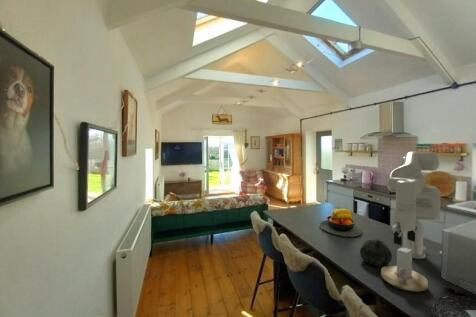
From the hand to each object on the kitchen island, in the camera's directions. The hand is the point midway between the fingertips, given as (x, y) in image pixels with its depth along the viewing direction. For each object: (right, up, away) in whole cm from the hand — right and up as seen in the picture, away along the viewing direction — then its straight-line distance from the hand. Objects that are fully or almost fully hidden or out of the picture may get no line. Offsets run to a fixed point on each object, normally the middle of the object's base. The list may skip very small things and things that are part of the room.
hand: (404, 242), depth 108 cm
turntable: (0, -18, 0) cm, 18 cm away
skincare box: (0, -16, 0) cm, 16 cm away
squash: (-2, -19, +19) cm, 27 cm away
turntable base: (0, -20, 0) cm, 20 cm away
